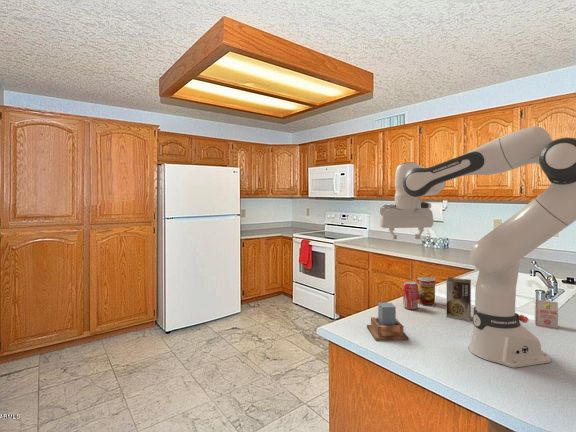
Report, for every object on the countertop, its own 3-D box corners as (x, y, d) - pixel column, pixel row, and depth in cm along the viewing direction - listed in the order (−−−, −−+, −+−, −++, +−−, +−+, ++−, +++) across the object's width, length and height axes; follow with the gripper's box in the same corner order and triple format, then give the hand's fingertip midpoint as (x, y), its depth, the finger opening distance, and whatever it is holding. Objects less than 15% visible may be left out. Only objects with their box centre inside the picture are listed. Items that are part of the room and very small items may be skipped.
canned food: (419, 305, 153) (419, 280, 152) (415, 300, 161) (415, 276, 160) (436, 306, 152) (437, 281, 151) (432, 301, 159) (432, 277, 159)
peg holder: (396, 326, 129) (396, 315, 128) (408, 339, 117) (408, 327, 116) (366, 327, 129) (366, 316, 128) (375, 340, 117) (375, 328, 116)
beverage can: (405, 304, 154) (406, 280, 154) (419, 307, 150) (419, 282, 150) (401, 308, 150) (401, 282, 149) (415, 311, 146) (415, 285, 145)
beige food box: (534, 322, 131) (535, 298, 130) (555, 325, 128) (556, 301, 127) (535, 325, 128) (536, 300, 127) (557, 329, 124) (558, 303, 124)
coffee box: (471, 316, 138) (471, 279, 138) (470, 321, 133) (470, 282, 132) (447, 312, 143) (448, 276, 142) (445, 317, 138) (446, 280, 137)
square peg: (391, 327, 125) (391, 302, 125) (395, 333, 120) (395, 307, 120) (378, 328, 125) (378, 302, 124) (382, 333, 120) (382, 307, 119)
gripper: (382, 204, 124) (382, 240, 124) (435, 204, 124) (434, 239, 125) (377, 204, 130) (377, 238, 131) (428, 203, 130) (427, 237, 131)
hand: (406, 239), depth 128 cm, fingers open, 8 cm apart
